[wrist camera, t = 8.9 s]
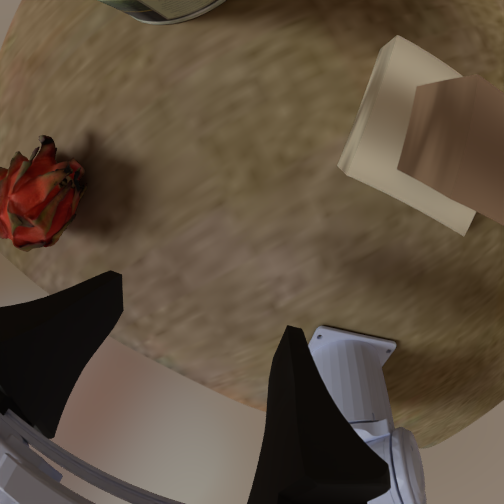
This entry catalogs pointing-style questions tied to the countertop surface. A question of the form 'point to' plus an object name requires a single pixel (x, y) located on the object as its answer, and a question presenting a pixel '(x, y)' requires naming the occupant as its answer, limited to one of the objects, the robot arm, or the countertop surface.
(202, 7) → the coffee can
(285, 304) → the countertop surface
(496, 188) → the walnut block
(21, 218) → the dragon fruit
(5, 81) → the countertop surface
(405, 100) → the birch base block
